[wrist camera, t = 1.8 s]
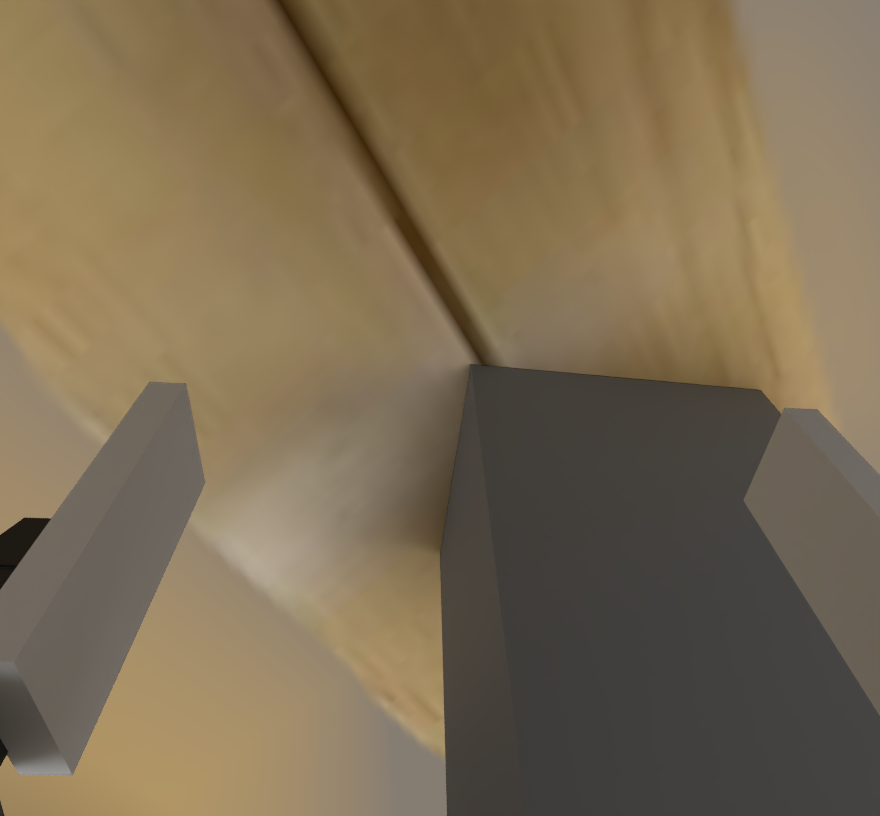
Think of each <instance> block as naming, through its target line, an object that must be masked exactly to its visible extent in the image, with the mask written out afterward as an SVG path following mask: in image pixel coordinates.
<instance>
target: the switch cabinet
mask: <svg viewBox="0 0 880 816" xmlns="http://www.w3.org/2000/svg"><path fill="white" fill-rule="evenodd" d="M780 416H781V413H780V412H779V411H778V410H777V409H776V408H775V406H774V405H773V404H772V403H771V402H770V401H769V399H768V398H767V397H766V396H765V395H764V394H763V392H762V391H761V390H751V389H740V388H729V387H718V386H707V385H695V384H684V383H673V382H662V381H651V380H639V379H628V378H617V377H606V376H595V375H584V374H572V373H561V372H550V371H539V370H528V369H516V368H505V367H494V366H483V365H472V364H471V365H470V371H469V377H468V384H467V390H466V396H465V402H464V408H463V415H462V421H461V427H460V433H459V440H458V446H457V452H456V458H455V464H454V471H453V477H452V483H451V489H450V496H449V502H448V508H447V514H446V521H445V527H444V533H443V539H442V545H441V552H440V569H441V606H442V644H443V681H444V719H445V756H446V791H447V792H446V793H447V816H880V715H879V714H878V712H877V711H876V709H875V708H874V706H873V704H872V703H871V701H870V700H869V698H868V697H867V695H866V693H865V692H864V690H863V689H862V687H861V686H860V684H859V682H858V681H857V679H856V678H855V676H854V674H853V673H852V671H851V670H850V668H849V667H848V665H847V663H846V662H845V660H844V659H843V657H842V656H841V654H840V652H839V651H838V649H837V648H836V646H835V644H834V643H833V641H832V640H831V638H830V637H829V635H828V633H827V632H826V630H825V629H824V627H823V626H822V624H821V622H820V621H819V619H818V618H817V616H816V614H815V613H814V611H813V610H812V608H811V607H810V605H809V603H808V602H807V600H806V599H805V597H804V596H803V594H802V592H801V591H800V589H799V588H798V586H797V584H796V583H795V581H794V580H793V578H792V577H791V575H790V573H789V572H788V570H787V569H786V567H785V566H784V564H783V562H782V561H781V559H780V558H779V556H778V555H777V553H776V551H775V550H774V548H773V547H772V545H771V543H770V542H769V540H768V539H767V537H766V536H765V534H764V532H763V531H762V529H761V528H760V526H759V525H758V523H757V521H756V520H755V518H754V517H753V515H752V513H751V512H750V510H749V509H748V507H747V506H746V504H745V502H744V501H743V500H744V498H745V496H746V494H747V491H748V489H749V487H750V484H751V482H752V480H753V478H754V475H755V473H756V471H757V469H758V466H759V464H760V462H761V459H762V457H763V455H764V453H765V450H766V448H767V446H768V444H769V441H770V439H771V437H772V434H773V432H774V430H775V428H776V425H777V423H778V421H779V418H780Z"/></svg>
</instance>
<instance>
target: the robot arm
mask: <svg viewBox="0 0 880 816" xmlns="http://www.w3.org/2000/svg"><path fill="white" fill-rule="evenodd" d="M204 484H205V479H204V474H203V469H202V464H201V458H200V453H199V448H198V443H197V438H196V432H195V427H194V422H193V417H192V412H191V406H190V401H189V396H188V391H187V385H186V383H163V382H149V383H148V385H147V386H146V387H145V389H144V390H143V392H142V393H141V394H140V396H139V397H138V398H137V400H136V401H135V403H134V404H133V405H132V407H131V408H130V410H129V411H128V412H127V414H126V415H125V417H124V418H123V419H122V421H121V422H120V424H119V425H118V426H117V428H116V429H115V431H114V432H113V433H112V435H111V436H110V438H109V439H108V440H107V442H106V443H105V444H104V446H103V447H102V449H101V450H100V451H99V453H98V454H97V456H96V457H95V458H94V460H93V461H92V463H91V464H90V466H89V467H88V468H87V470H86V471H85V472H84V474H83V475H82V477H81V478H80V480H79V481H78V482H77V484H76V485H75V486H74V488H73V489H72V490H71V492H70V493H69V495H68V496H67V497H66V499H65V501H64V502H63V503H62V504H61V506H60V507H59V509H58V510H57V511H56V513H55V514H54V516H53V517H52V518H51V519H48V518H23V519H22V520H21V521H19V522H18V523H16V524H15V525H14V526H12V527H11V528H9V529H8V530H7V531H5V532H4V533H2V534H1V535H0V766H1V764H2V762H3V760H4V758H5V757H6V755H7V756H8V757H9V759H10V761H11V762H12V764H13V765H14V767H15V769H16V770H17V772H18V773H19V775H73V773H74V771H75V769H76V766H77V764H78V762H79V760H80V758H81V756H82V753H83V751H84V749H85V747H86V745H87V742H88V740H89V738H90V736H91V734H92V731H93V729H94V727H95V725H96V723H97V720H98V718H99V716H100V714H101V712H102V709H103V707H104V705H105V703H106V700H107V698H108V696H109V694H110V692H111V689H112V687H113V685H114V683H115V681H116V678H117V676H118V674H119V672H120V670H121V667H122V665H123V663H124V661H125V659H126V656H127V654H128V652H129V650H130V647H131V645H132V643H133V641H134V639H135V637H136V634H137V632H138V630H139V628H140V625H141V623H142V621H143V619H144V617H145V614H146V612H147V610H148V608H149V606H150V603H151V601H152V599H153V596H154V594H155V592H156V590H157V588H158V585H159V584H160V581H161V579H162V577H163V575H164V572H165V570H166V568H167V566H168V563H169V561H170V559H171V557H172V555H173V552H174V550H175V548H176V546H177V544H178V542H179V539H180V537H181V535H182V533H183V531H184V528H185V526H186V524H187V522H188V520H189V517H190V515H191V513H192V511H193V509H194V506H195V504H196V502H197V500H198V497H199V495H200V493H201V491H202V489H203V486H204ZM743 501H744V502H745V504H746V506H747V507H748V509H749V510H750V512H751V513H752V515H753V517H754V518H755V520H756V521H757V523H758V525H759V526H760V528H761V529H762V531H763V532H764V534H765V536H766V537H767V539H768V540H769V542H770V543H771V545H772V547H773V548H774V550H775V551H776V553H777V555H778V556H779V558H780V559H781V561H782V562H783V564H784V566H785V567H786V569H787V570H788V572H789V573H790V575H791V577H792V578H793V580H794V581H795V583H796V584H797V586H798V588H799V589H800V591H801V592H802V594H803V596H804V597H805V599H806V600H807V602H808V603H809V605H810V607H811V608H812V610H813V611H814V613H815V614H816V616H817V618H818V619H819V621H820V622H821V624H822V626H823V627H824V629H825V630H826V632H827V633H828V635H829V637H830V638H831V640H832V641H833V643H834V644H835V646H836V648H837V649H838V651H839V652H840V654H841V656H842V657H843V659H844V660H845V662H846V663H847V665H848V667H849V668H850V670H851V671H852V673H853V674H854V676H855V678H856V679H857V681H858V682H859V684H860V686H861V687H862V689H863V690H864V692H865V693H866V695H867V697H868V698H869V700H870V701H871V703H872V704H873V706H874V708H875V709H876V711H877V712H878V714H879V715H880V475H879V474H878V473H877V472H876V471H875V469H873V467H872V466H871V465H870V464H869V463H868V462H867V461H866V460H865V459H864V458H863V457H862V456H861V455H860V454H859V453H858V452H857V451H856V450H855V449H854V447H853V446H852V445H851V444H850V443H849V442H848V441H847V440H846V439H845V438H844V437H843V436H842V435H841V434H840V433H839V432H838V431H837V430H836V429H835V428H834V426H833V425H832V424H831V423H830V422H829V421H828V420H827V419H826V418H825V417H824V416H823V415H822V414H821V413H820V412H819V411H818V410H817V409H795V408H784V409H783V412H782V414H781V416H780V418H779V421H778V423H777V425H776V428H775V430H774V432H773V434H772V437H771V439H770V441H769V444H768V446H767V448H766V450H765V453H764V455H763V457H762V459H761V462H760V464H759V466H758V469H757V471H756V473H755V475H754V478H753V480H752V482H751V484H750V487H749V489H748V491H747V494H746V496H745V498H744V500H743ZM0 816H4V813H3V809H2V806H1V802H0Z"/></svg>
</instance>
